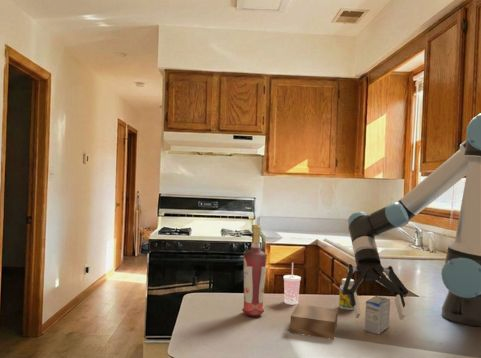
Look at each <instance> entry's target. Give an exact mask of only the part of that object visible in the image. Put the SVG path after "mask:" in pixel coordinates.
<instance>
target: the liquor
mask: <svg viewBox="0 0 481 358" xmlns="http://www.w3.org/2000/svg"><path fill="white" fill-rule="evenodd" d="M251 227H252V228H251V232H252V237H251V246H250V249H248V250H247V251H245V252H244V253H243V308H241V310H242V312H243V313H244V314H245V315H246V316H247V317H252V318H259V317H260V316H261V315H262V314H263V313H264V312H265V310H264V294H265V283H266V282H265V281H266V271H267V260H268V259H267V257H268V254H266V252H265V251H264V250H261V237H260V234H261V225H260V224H252V225H251Z"/></svg>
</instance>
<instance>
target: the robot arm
mask: <svg viewBox="0 0 481 358" xmlns="http://www.w3.org/2000/svg"><path fill="white" fill-rule="evenodd" d="M465 134H466V139H465V140H464V141H463V142H461V144H459V149H458V150H457V151H456V152H455V153H453V154H452V156H450V157H449V158H448V159H446V160H445V161H444V162H443V163H442V164H441V165H439V166H438V167H437V168H436V169H435V170H434V171H433V172H431V173H430V174H429V175H427V176H426V177H425V178H423V180H421V182H419V183H418V184H417V185H416V186H415V187H413V188H412V189H411V190H409V192H407V193H406V194H405V195H403V197H401V198H400V199H399V200H398V201H395V202H393V203H391V204H387V205H386V206H384V207H382V208H380V209H378V210H375V211H373V212H371V213H369V214H367V212H364V211H359V212H353V213H352V214H351V215H350V216H349V217H348V219H347V223H348V231H349V236H350V240H351V247H352V250H353V255H354V259H355V265H353V264H351V263H350V264H348V266H347V269H346V272H347V275H346V277H345V278H346V281H345V284H344V287H343V290H342V294H343V295H345V294H346V295H348V298H349V300H350V305H351V306H354V309H353V311H354V314H355V318H356V319H359V318H360V316H361V314H362V313H361V307H360V303H359V298H358V294H357V289H358V288H359V286H360V285H361V283H362V282H363V281H364V280H365V281H367V282H368V281H372V282H378V283H379V284H381V285H383V286H384V288H386V290H388V291H389V292H390V293H391V294H392V295H393V296H394V297H395V298H394V302H395V306H396V309H397V314H398V318H399V320H400V321H403V320H404V318H406V312H405V306H406V302H405V299H404V298H406V297H407V295H408V293H409V290H408V289H407V287H406V286H405V285H404V283H403V282H402V281H401V279H400V278H399V277H398V276H397V274H396V273H395V271H394V268H393V266H391V265H389V266H388V267H383V266H382V263H381V257H380V254H379V251H378V246H377V242H376V239H375V237H377V236H380V235H382V234H384V233H388V232H389V231H392V230H395V229H398V228H402V227H405V226H406V225H407V224H409V222H410V221H411V220H412V219H414V218H416V216H417V215H418V214H419V213H421V212H422V211H424V210H425V208H427V207H428V206H429V205H431V204H432V203H433V202H434V201H436V200H437V199H439V198H440V197H441V196H442V195H444V193H446V192H448V190H450V189H451V188H452V187H453V186H455V185H456V184H458V182H459V181H461V180H462V179H463V178H465V181H464V187H463V194H462V198H461V205H460V208H459V209H460V210H459V215H458V216H459V217H458V221H457V226H456V233H455V238H454V241H453V242H452V243H450V244H448V245H447V251H446V257H445V260H444V265H443V266H442V268H441V273H440V274H441V279H442V283H443V285H444V287H445V288H446V289H447V290H448V291H447V295H446V297H445V299H444V302H443V304H442V307H441V315H442V317H443V318H445V319H446V320H449V321H452V322H453V323H454V322H455V323H458V324H462V325H466V326H468V325H469V326H474V327H481V113H479V114H477V115H476V116H475V117H473V118H471V120H470V122H469V123H468V125H467V128H466V131H465ZM355 272H357V274H358V275H359V276H358V277H357V279H356V280H355V281H354V285H353V286H352V288H351V289H348V286H349V283H350V280H351V279H352V276H353V274H355ZM355 291H356V293H354V292H355Z"/></svg>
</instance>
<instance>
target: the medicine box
mask: <svg viewBox="0 0 481 358" xmlns="http://www.w3.org/2000/svg"><path fill="white" fill-rule="evenodd" d="M390 307H391V299H390V298H387V297H384V296H379V295H375V296H374V297H372V298H369V299H367V300H366V301H365V313H364V331H366V332H369V333H373V334H377V335H380V334H381V333H382V332H384V331H386V329H388V328H389V326H390V325H389V324H390V311H391V310H390V309H391V308H390Z"/></svg>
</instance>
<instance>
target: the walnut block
mask: <svg viewBox="0 0 481 358" xmlns="http://www.w3.org/2000/svg"><path fill="white" fill-rule="evenodd" d="M338 311H339V309H337V308H329V307H321V306H314V305H306V304H299V303H298V304H296V306H295V308H294V310H293V312H292V313H291V315H290V323H289V325H290V326H289V327H290V328H289V333H290V334H295V333H296V335H302V334H304V336H308V335H310V336H309V337H316V338H322V339H328V338H330V339H329V340H335V338H334V337H336V331H337V327H338V315H339V314H338V313H339V312H338Z"/></svg>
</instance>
